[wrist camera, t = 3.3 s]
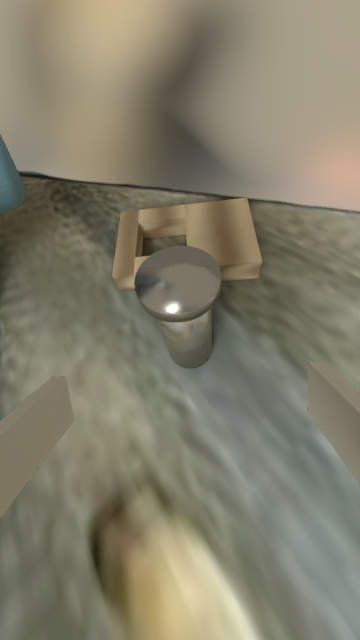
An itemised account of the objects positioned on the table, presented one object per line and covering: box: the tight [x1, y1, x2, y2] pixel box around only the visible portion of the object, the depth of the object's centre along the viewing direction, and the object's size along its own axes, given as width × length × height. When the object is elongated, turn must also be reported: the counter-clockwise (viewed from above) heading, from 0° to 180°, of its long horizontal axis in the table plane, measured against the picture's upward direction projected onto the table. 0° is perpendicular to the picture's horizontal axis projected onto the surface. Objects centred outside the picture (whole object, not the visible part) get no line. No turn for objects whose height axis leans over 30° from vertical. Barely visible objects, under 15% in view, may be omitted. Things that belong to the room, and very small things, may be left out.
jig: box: [112, 198, 262, 290], centre depth 37 cm, size 18×12×3 cm, turn 92°
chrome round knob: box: [134, 246, 221, 368], centre depth 25 cm, size 6×6×12 cm
